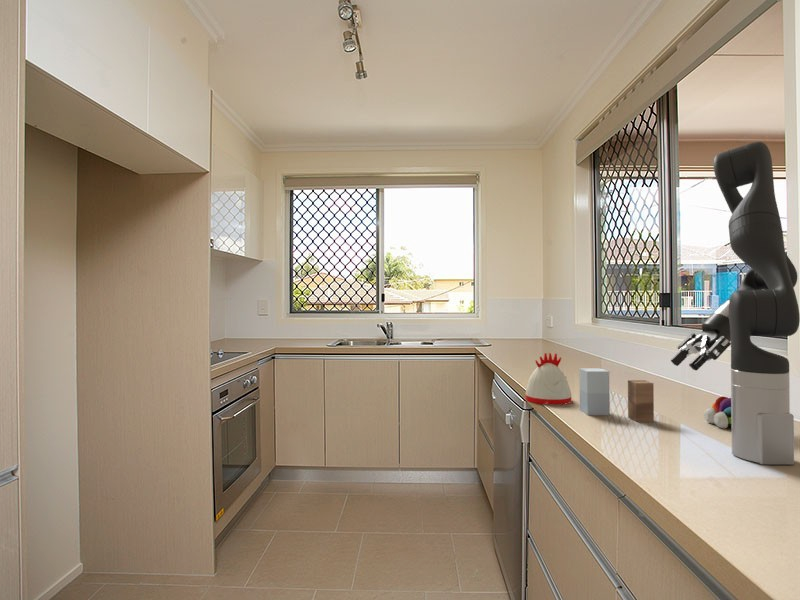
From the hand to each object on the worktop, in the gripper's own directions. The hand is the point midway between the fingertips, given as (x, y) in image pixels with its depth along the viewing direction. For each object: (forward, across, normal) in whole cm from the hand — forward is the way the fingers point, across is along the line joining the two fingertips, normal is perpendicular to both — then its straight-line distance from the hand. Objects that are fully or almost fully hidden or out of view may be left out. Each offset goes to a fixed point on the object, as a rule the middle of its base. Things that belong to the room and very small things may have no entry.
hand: (682, 365), depth 123 cm
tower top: (+20, -8, -8) cm, 23 cm away
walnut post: (+18, 0, +2) cm, 18 cm away
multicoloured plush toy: (+5, +6, +16) cm, 18 cm away
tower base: (+24, -8, -4) cm, 26 cm away
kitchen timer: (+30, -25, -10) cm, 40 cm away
